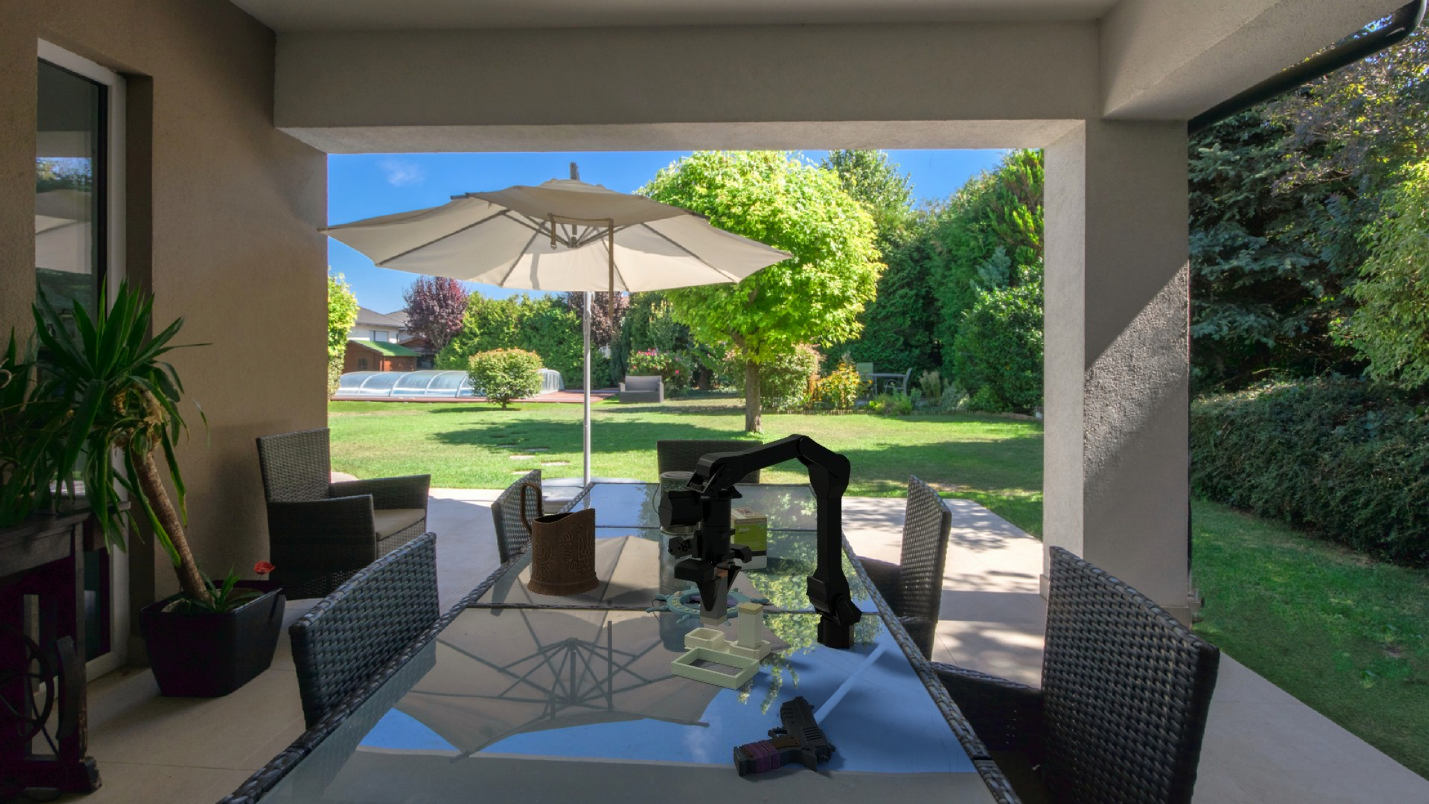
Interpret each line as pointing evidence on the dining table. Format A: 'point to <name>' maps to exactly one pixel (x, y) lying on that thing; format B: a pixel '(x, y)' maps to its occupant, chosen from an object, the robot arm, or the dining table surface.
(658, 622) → the dining table surface
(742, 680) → the tray
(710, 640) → the fuse block
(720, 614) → the block
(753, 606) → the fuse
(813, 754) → the handgun
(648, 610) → the decorative ship wheel
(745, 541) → the tea box
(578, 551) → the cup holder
